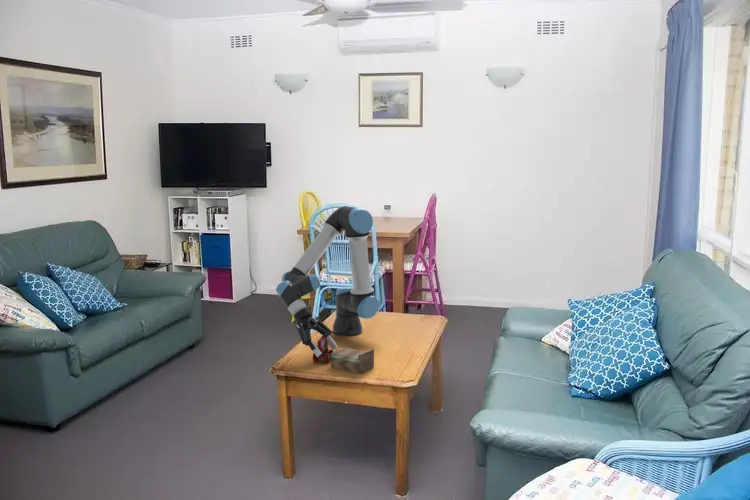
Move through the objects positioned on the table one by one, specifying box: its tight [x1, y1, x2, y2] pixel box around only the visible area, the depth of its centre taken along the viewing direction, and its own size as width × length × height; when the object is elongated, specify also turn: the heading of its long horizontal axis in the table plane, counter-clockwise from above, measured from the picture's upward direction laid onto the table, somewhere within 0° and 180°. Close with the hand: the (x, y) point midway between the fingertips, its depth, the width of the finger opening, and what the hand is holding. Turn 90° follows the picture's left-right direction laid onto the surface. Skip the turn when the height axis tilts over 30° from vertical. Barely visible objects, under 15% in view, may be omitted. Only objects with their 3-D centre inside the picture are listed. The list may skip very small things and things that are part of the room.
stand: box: [330, 347, 375, 375], centre depth 262 cm, size 15×10×8 cm
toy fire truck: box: [312, 335, 334, 364], centre depth 271 cm, size 7×12×10 cm, turn 169°
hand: (327, 352), depth 269 cm, fingers closed on toy fire truck, 11 cm apart
